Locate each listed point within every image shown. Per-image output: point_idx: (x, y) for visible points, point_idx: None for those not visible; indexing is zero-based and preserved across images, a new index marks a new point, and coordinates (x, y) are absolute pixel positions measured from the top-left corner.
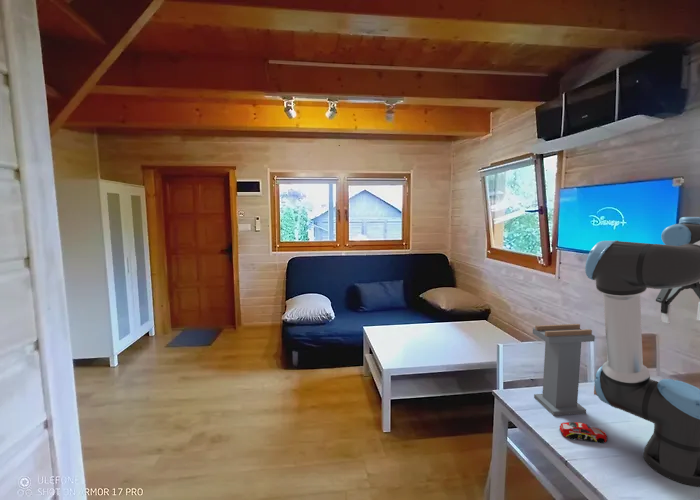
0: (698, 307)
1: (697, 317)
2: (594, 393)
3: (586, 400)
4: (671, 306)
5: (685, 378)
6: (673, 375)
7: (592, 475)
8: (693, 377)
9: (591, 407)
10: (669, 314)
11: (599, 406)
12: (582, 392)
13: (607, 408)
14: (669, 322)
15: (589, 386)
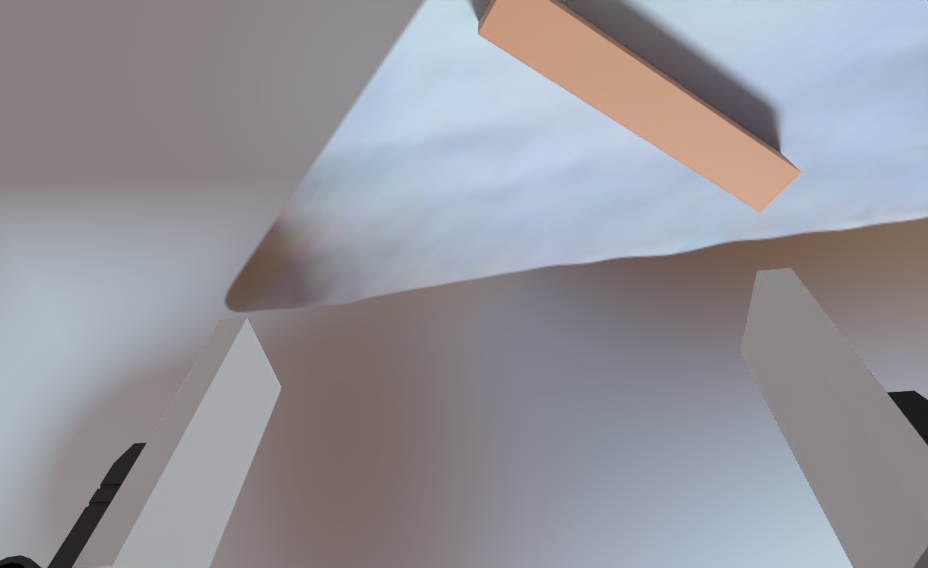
0: (217, 530)
1: (268, 404)
2: (780, 153)
3: (878, 90)
4: (924, 504)
5: (269, 282)
6: (301, 304)
7: None
8: (231, 289)
9: (923, 19)
10: (850, 367)
11: (870, 31)
12: (823, 164)
13: (848, 11)
14: (771, 280)
15: (738, 217)
